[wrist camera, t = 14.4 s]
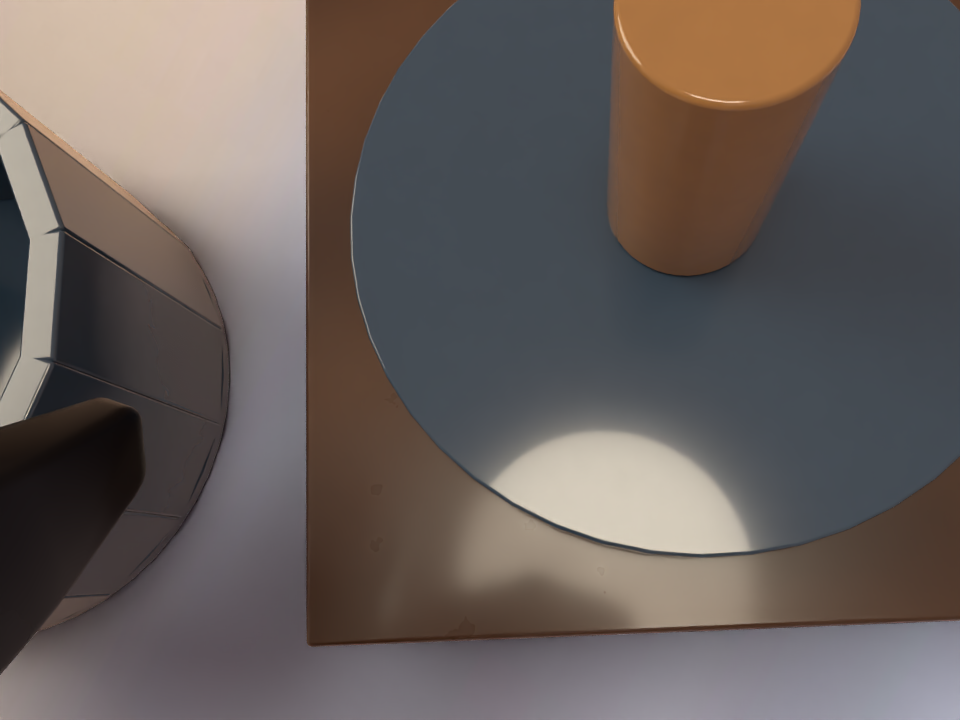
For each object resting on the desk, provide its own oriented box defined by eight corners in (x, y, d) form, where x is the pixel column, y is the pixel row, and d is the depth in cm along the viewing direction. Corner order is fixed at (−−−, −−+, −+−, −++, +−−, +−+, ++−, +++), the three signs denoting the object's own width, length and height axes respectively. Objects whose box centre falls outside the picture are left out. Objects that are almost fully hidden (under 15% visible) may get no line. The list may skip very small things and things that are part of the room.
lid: (904, 678, 14) (1177, 777, 7) (262, 404, 16) (41, 296, 10) (1107, 46, 15) (1469, -320, 9) (507, -114, 18) (458, -493, 11)
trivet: (1088, 603, 16) (1195, 611, 13) (352, 634, 18) (304, 647, 15) (954, -47, 19) (1017, -154, 17) (344, 28, 21) (304, -58, 18)
